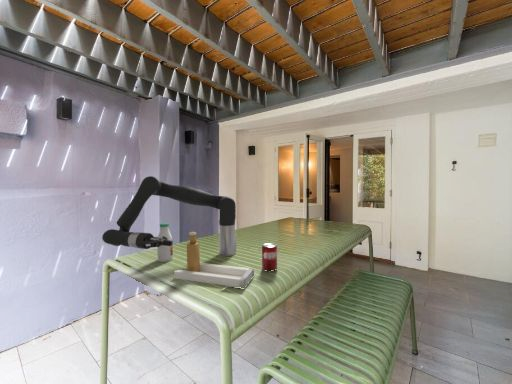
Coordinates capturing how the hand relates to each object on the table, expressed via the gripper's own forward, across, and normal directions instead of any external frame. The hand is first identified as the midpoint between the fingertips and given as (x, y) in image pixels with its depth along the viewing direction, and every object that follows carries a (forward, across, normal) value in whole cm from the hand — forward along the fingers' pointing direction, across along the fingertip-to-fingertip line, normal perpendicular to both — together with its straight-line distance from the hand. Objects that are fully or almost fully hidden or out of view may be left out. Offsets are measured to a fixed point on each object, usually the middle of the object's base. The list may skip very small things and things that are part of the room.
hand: (171, 243), depth 111 cm
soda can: (+42, +17, +14) cm, 48 cm away
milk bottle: (-15, +15, +14) cm, 26 cm away
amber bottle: (+11, 0, +13) cm, 17 cm away
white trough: (+22, 0, +14) cm, 26 cm away
